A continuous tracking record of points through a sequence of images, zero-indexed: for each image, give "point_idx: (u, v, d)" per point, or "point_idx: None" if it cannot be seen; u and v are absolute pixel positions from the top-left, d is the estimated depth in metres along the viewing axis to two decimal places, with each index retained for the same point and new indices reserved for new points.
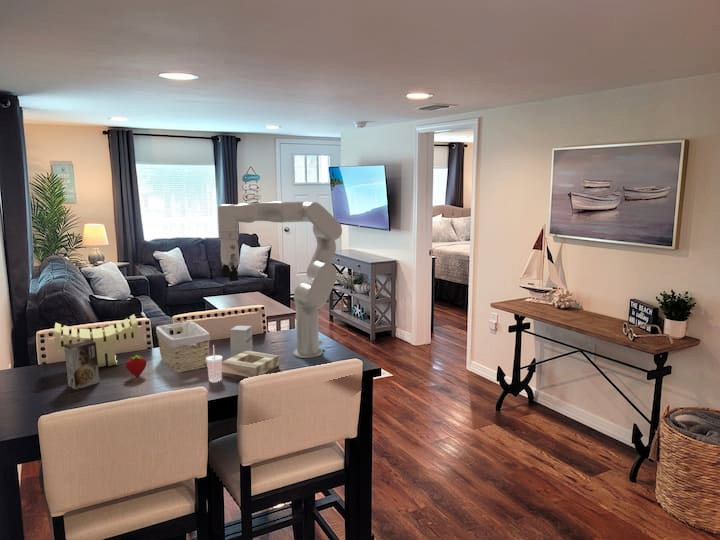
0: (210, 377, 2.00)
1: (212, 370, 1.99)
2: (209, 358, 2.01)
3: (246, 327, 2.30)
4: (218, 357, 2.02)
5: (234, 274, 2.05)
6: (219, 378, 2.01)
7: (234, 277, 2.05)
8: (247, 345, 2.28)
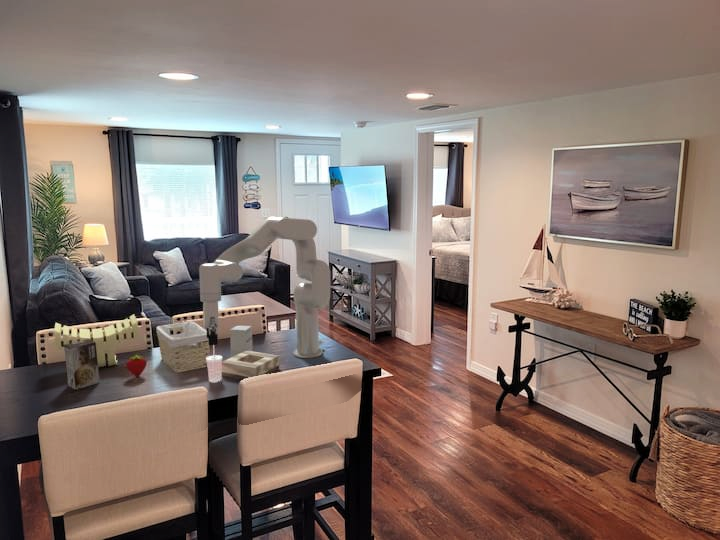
0: (210, 377, 2.00)
1: (212, 370, 1.99)
2: (209, 358, 2.01)
3: (246, 327, 2.30)
4: (218, 357, 2.02)
5: None
6: (219, 378, 2.01)
7: None
8: (247, 345, 2.28)
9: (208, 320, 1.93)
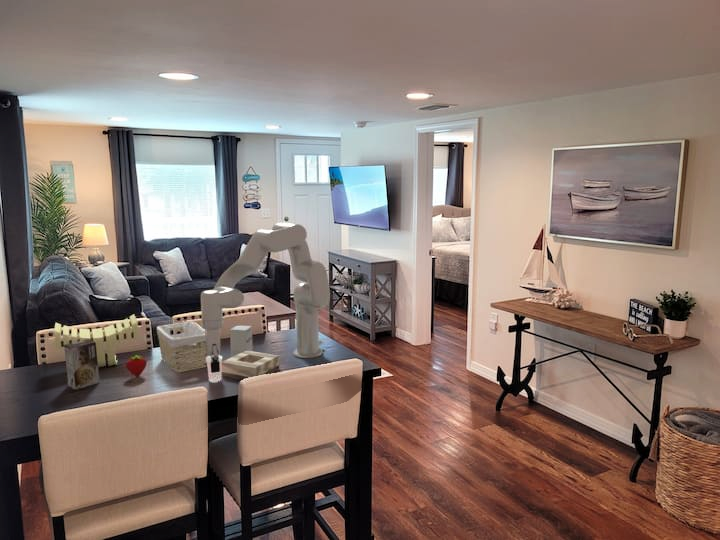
0: (210, 377, 2.00)
1: None
2: (209, 358, 2.01)
3: (246, 327, 2.30)
4: None
5: None
6: (219, 378, 2.01)
7: None
8: (247, 345, 2.28)
9: (210, 347, 1.95)
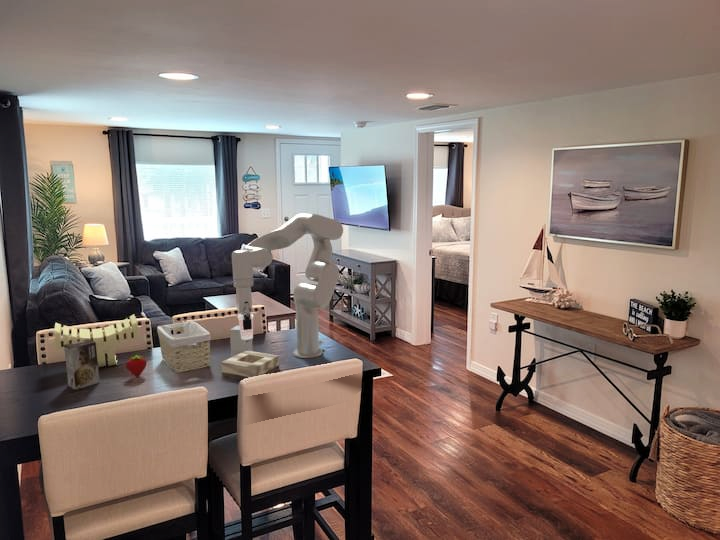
0: (242, 334, 2.06)
1: None
2: (241, 316, 2.06)
3: None
4: None
5: None
6: (251, 335, 2.07)
7: None
8: (247, 345, 2.28)
9: (242, 305, 2.00)
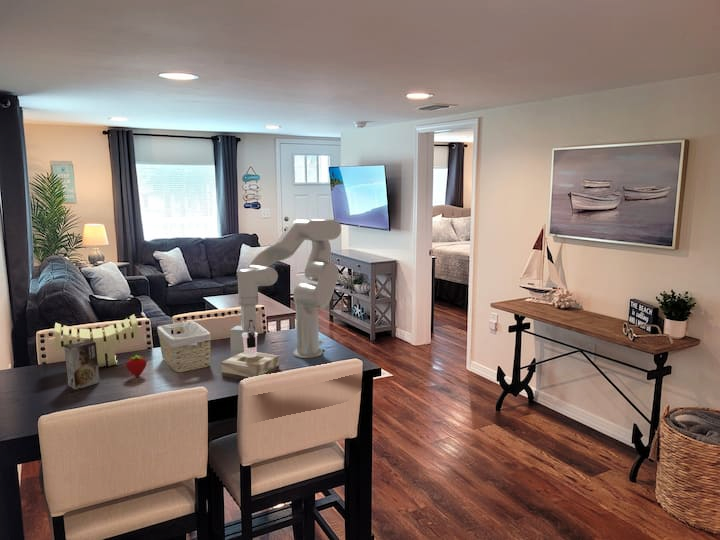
0: (246, 352, 2.08)
1: None
2: (245, 334, 2.08)
3: None
4: None
5: None
6: (254, 353, 2.09)
7: None
8: None
9: (247, 323, 2.02)
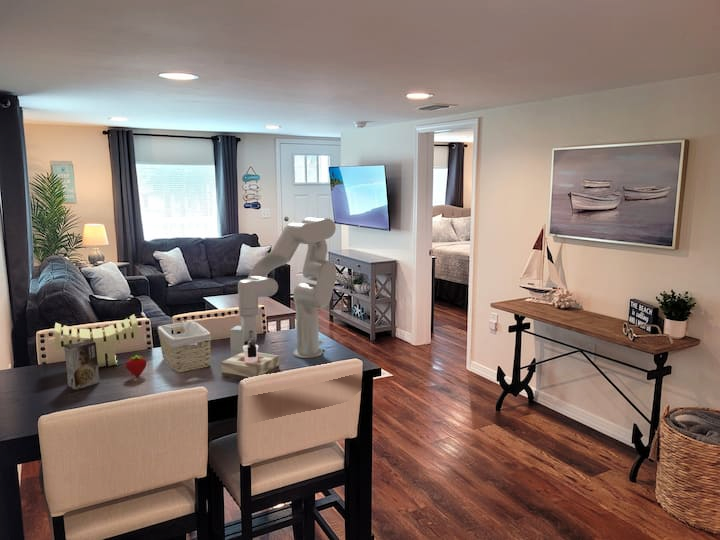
0: None
1: (249, 358, 2.08)
2: (246, 347, 2.09)
3: None
4: None
5: None
6: None
7: None
8: None
9: (247, 334, 2.03)
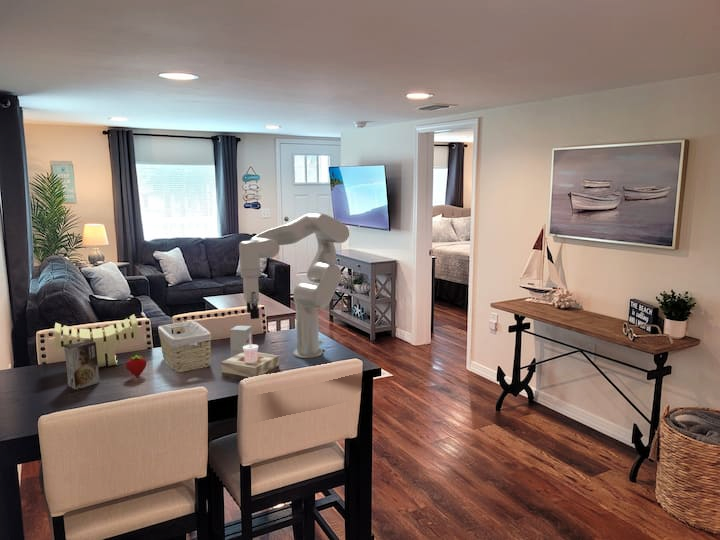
0: None
1: (249, 358, 2.08)
2: (246, 347, 2.09)
3: (246, 327, 2.30)
4: (254, 346, 2.10)
5: None
6: None
7: None
8: None
9: (249, 295, 2.02)
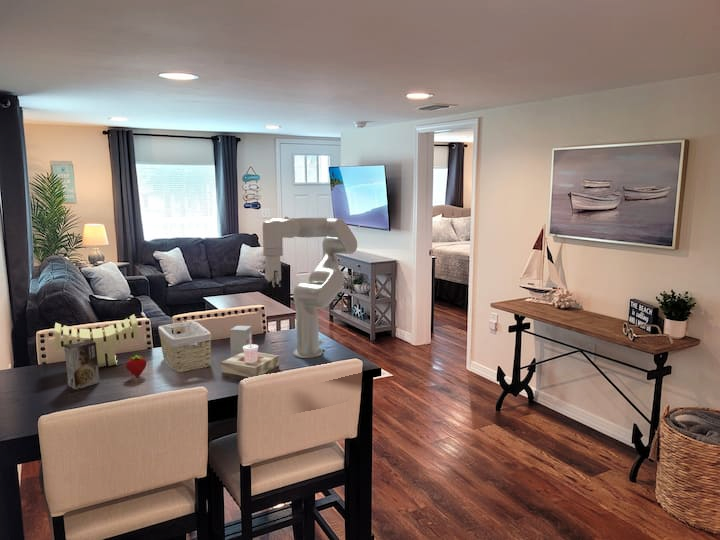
0: None
1: (249, 358, 2.08)
2: (246, 347, 2.09)
3: (246, 327, 2.30)
4: (254, 346, 2.10)
5: None
6: None
7: None
8: None
9: (272, 273, 2.05)
